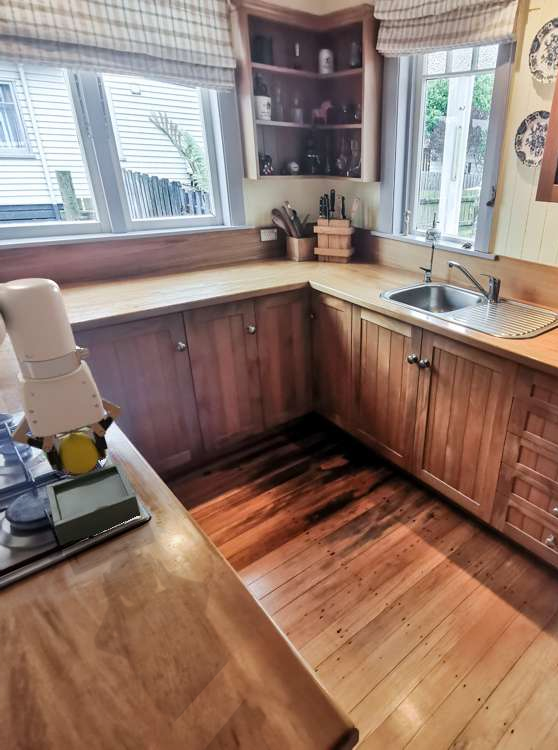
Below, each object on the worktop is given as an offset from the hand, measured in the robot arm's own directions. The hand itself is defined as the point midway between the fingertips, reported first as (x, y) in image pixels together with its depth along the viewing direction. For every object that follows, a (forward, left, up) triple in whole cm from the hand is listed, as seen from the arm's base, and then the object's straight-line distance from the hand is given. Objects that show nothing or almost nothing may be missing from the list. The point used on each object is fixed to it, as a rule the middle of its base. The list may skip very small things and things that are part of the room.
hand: (80, 459), depth 78 cm
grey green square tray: (0, 0, -12) cm, 12 cm away
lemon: (0, 0, -3) cm, 3 cm away
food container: (0, +14, -12) cm, 18 cm away
